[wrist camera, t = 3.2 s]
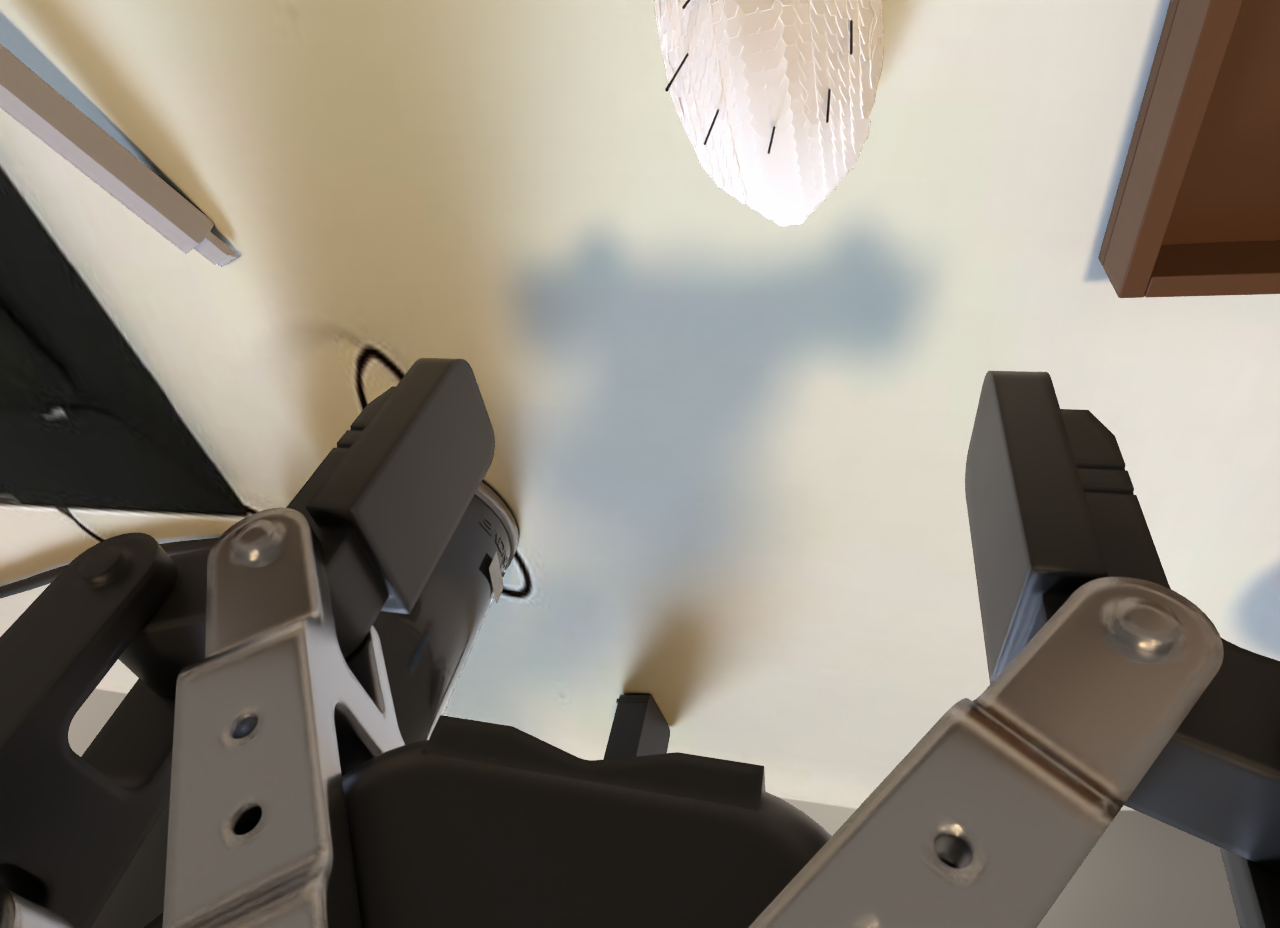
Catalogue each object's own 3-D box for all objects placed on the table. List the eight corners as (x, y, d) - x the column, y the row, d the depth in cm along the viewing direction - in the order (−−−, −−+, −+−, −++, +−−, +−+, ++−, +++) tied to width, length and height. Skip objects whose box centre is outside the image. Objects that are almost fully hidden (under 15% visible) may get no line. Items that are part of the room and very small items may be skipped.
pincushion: (885, 205, 24) (891, 291, 20) (705, 229, 26) (678, 312, 22) (876, -301, 17) (884, -325, 13) (624, -217, 19) (561, -215, 15)
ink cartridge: (618, 691, 50) (588, 810, 44) (650, 691, 49) (624, 812, 43) (640, 728, 53) (615, 844, 47) (670, 730, 52) (648, 847, 46)
